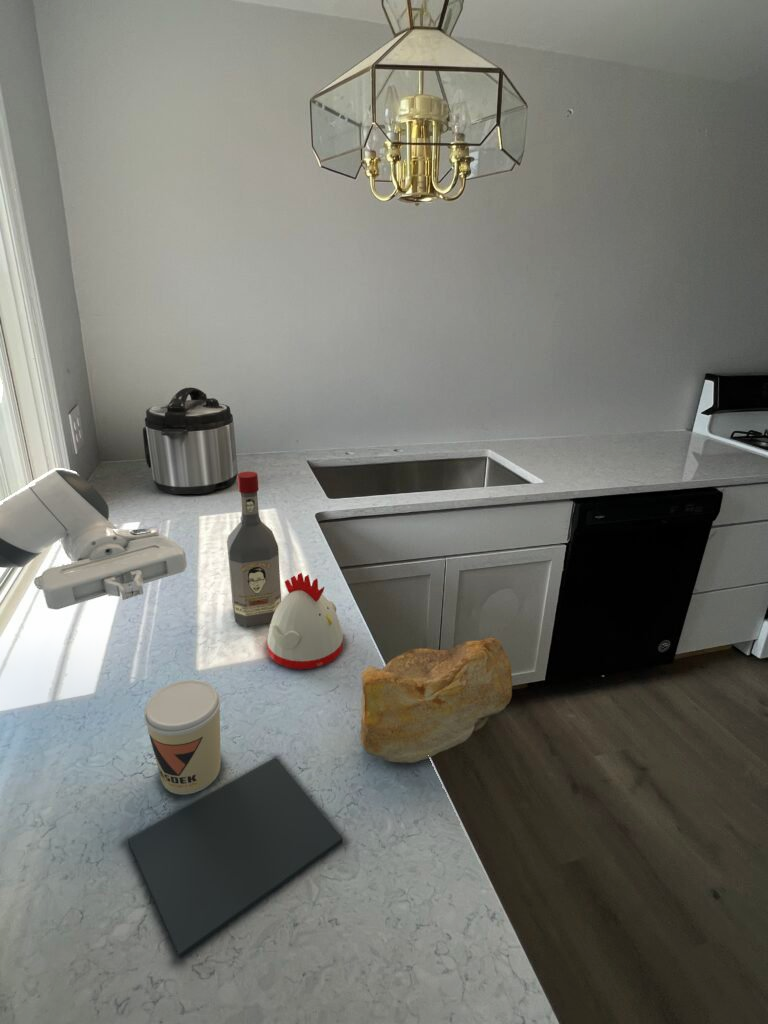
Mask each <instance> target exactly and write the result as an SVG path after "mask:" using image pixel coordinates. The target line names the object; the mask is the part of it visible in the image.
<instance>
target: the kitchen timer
mask: <svg viewBox="0 0 768 1024" xmlns="http://www.w3.org/2000/svg"><path fill="white" fill-rule="evenodd" d="M284 584H285V588H286V589H287V592H288V594H287V595H285V596H284V597H283V598H282V599H281V602H280V604H279V605H278V607H277V608H276V610H275V612H274V614H273V618H272V621H271V624H269V629H268V633H267V638H266V639H267V640H266V644H267V645H266V646H267V652H268V655H269V657H270V658H271V659H272V661H273V662H275V663H277V664H278V665H280V666H282V667H285V668H289V669H294V670H308V669H309V670H310V669H316V668H319V667H323V666H325V665H328V664H329V663H331V662H333V661H334V660H335V659H336V658H337V657H339V656H340V655H341V653H342V650H343V647H344V646H343V644H344V643H343V642H344V641H343V640H344V639H343V637H344V636H343V629H342V625H341V622H340V620H339V617H338V614H337V606H336V604H335V603H334V602H333V601H331V600H329V599H328V598H327V597H326V596H324V595H323V594H324V591H325V586H323V587H321V588H320V589H319V581H318V578H315V579H313V581H312V583H311V579H310V575H309V574H307V575H305V576H304V575H303V573H302V572H300V573H298V574H297V577H296V576H295V575H293V576H291V577H290V580H289V579H286V580H285V581H284Z"/></svg>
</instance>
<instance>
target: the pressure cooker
mask: <svg viewBox="0 0 768 1024" xmlns="http://www.w3.org/2000/svg"><path fill="white" fill-rule="evenodd" d="M188 397H190V399H187V398H188ZM145 414H146V416H145V418H144V424H145V426H144V427H143V428H142V439H143V447H144V449H143V450H144V456H145V461H146V465H147V466H148V468H149V469H151V474H152V480H153V483H154V485H155V486H156V487H157V488H158V489H159V490H160V491H162V492H165V493H168V494H174V495H183V494H185V495H186V494H193V495H197V494H198V495H201V494H208V493H213V492H214V491H215V490H222V489H225V488H229V487H230V486H232V485H234V484H235V482H236V481H237V475H238V471H239V470H238V462H237V449H236V448H237V447H236V436H235V435H236V434H235V426H234V425H235V423H234V416H233V413H231V406H229V405H227V404H224V403H219V400H218V399H217V398H214V397H211V398H208V397H207V394H206V393H205V391H202V390H200V389H199V388H196V387H184V388H182V389H180V390H179V391H177V393H175V394H174V395H173V396H172V398H171V400H170V401H169V403H164V404H159V405H155V406H151V407H149V408H147V409H146V410H145Z"/></svg>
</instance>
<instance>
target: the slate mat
mask: <svg viewBox="0 0 768 1024" xmlns="http://www.w3.org/2000/svg"><path fill="white" fill-rule="evenodd" d="M127 842H128V845H129V847H130V849H131V851H132V854H133V856H134V858H135V861H136V863H137V865H138V867H139V870H140V872H141V874H142V876H143V878H144V881H145V883H146V886H147V888H148V890H149V892H150V895H151V897H152V899H153V901H154V903H155V906H156V908H157V910H158V913H159V915H160V917H161V919H162V921H163V924H164V926H165V929H166V931H167V933H168V935H169V937H170V940H171V942H172V945H173V947H174V949H175V951H176V953H177V955H178V958H182V957H183V956H185V955H186V954H188V953H189V952H190V951H192V950H193V949H194V948H196V947H197V946H199V945H200V944H201V943H203V942H204V941H205V940H206V939H208V938H210V937H211V936H212V935H214V934H215V933H216V932H218V931H219V930H221V929H222V928H224V927H225V926H227V925H228V924H229V923H231V922H232V921H233V920H235V919H236V918H238V917H239V916H240V915H242V914H244V913H245V912H246V911H247V910H249V909H251V908H252V907H253V906H255V905H256V904H258V903H259V902H260V901H261V900H264V898H266V897H267V896H269V895H270V894H272V892H274V891H276V890H277V889H278V888H280V887H281V886H282V885H284V884H286V882H288V881H290V880H291V879H292V878H294V877H295V876H297V875H298V874H299V873H301V872H302V871H304V870H305V869H307V868H308V867H309V866H310V865H312V864H313V863H315V862H316V861H317V860H319V859H320V858H322V857H323V856H325V855H327V854H328V853H329V852H330V851H332V850H333V849H335V848H336V847H338V845H340V844H342V843H343V837H342V836H341V835H340V833H339V832H338V831H337V829H335V828H334V825H332V824H331V823H330V821H329V820H328V818H327V817H326V816H325V815H324V813H322V811H320V809H319V808H318V806H317V805H315V803H314V802H313V801H312V800H311V798H310V797H309V796H308V795H307V793H306V792H305V791H304V790H303V789H302V787H301V786H300V785H299V784H298V782H297V781H296V780H295V779H294V778H293V777H292V775H291V774H290V773H289V772H288V771H287V769H286V768H285V767H284V766H283V764H282V763H281V762H280V761H279V760H278V758H277V757H274V758H272V759H271V760H269V761H266V762H265V763H263V764H262V765H261V764H260V766H258V767H256V768H254V769H252V770H250V771H248V772H247V773H245V774H243V775H242V776H239V777H238V778H236V779H234V780H233V781H231V782H229V783H227V784H225V785H223V786H222V787H219V788H218V789H216V790H214V791H212V792H211V793H209V794H207V795H205V796H204V797H202V798H199V799H198V800H196V801H194V802H192V803H191V804H188V805H187V806H185V807H184V808H181V809H180V810H178V811H176V812H175V813H172V814H171V815H169V816H168V817H165V818H164V819H161V820H160V821H158V822H157V823H154V824H153V825H151V826H149V827H148V828H145V829H144V830H141V831H140V832H138V833H136V834H135V835H133V836H131V837H128V838H127Z"/></svg>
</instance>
